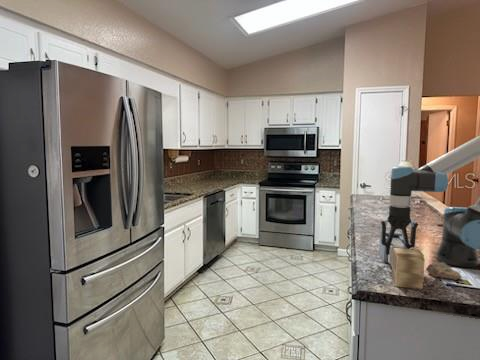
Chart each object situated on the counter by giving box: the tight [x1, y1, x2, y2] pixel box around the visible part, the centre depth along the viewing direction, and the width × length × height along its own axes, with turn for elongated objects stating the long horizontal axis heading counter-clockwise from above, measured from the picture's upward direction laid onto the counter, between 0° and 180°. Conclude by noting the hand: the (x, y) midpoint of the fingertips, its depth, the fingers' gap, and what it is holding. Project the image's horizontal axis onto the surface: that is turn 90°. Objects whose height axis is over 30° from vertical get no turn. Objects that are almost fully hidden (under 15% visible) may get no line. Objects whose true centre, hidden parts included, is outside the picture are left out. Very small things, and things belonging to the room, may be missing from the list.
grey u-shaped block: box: [378, 229, 405, 263], centre depth 142 cm, size 8×11×11 cm
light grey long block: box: [386, 235, 407, 268], centre depth 136 cm, size 5×18×9 cm, turn 167°
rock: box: [425, 261, 463, 281], centre depth 124 cm, size 9×6×10 cm
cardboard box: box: [391, 248, 425, 290], centre depth 117 cm, size 8×7×12 cm
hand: (396, 262), depth 133 cm, fingers closed on light grey long block, 4 cm apart
